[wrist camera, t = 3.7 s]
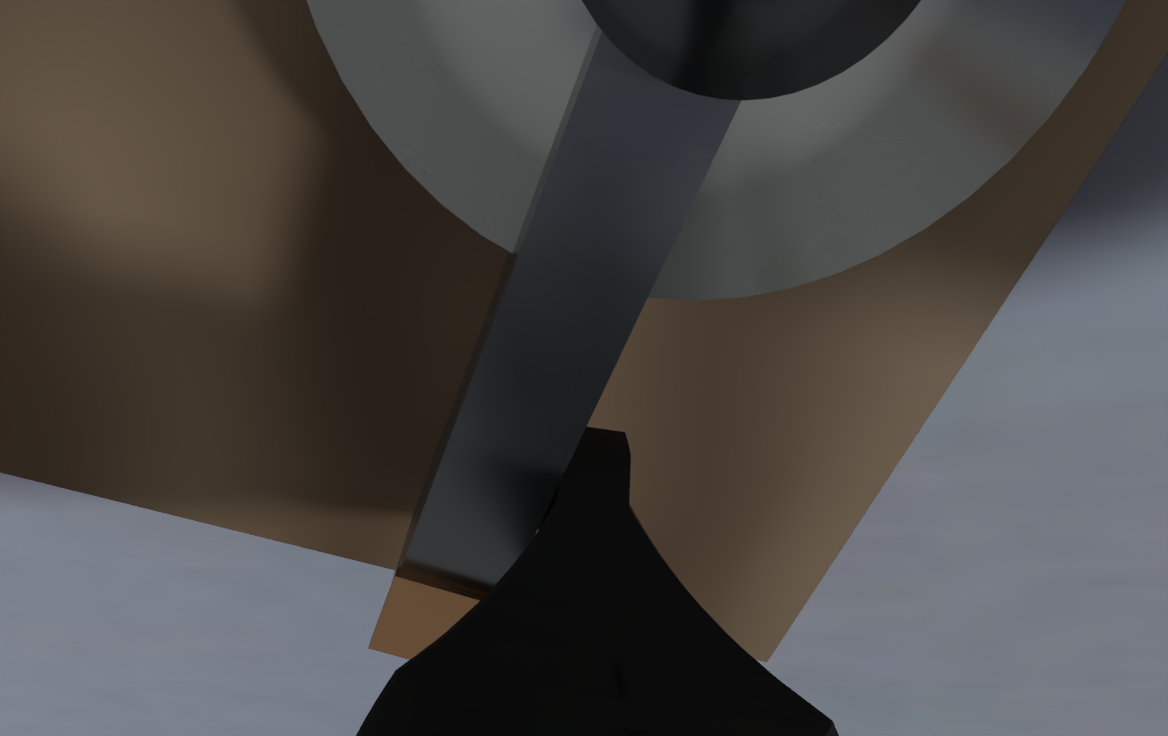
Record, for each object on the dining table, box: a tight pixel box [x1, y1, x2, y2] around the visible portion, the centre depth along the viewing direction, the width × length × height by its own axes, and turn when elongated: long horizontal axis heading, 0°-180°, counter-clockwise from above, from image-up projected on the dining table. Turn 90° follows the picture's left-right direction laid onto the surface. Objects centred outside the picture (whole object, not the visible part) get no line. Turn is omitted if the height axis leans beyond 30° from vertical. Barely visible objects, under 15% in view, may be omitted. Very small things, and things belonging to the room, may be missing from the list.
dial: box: [307, 0, 1126, 659], centre depth 10 cm, size 16×10×4 cm, turn 159°
